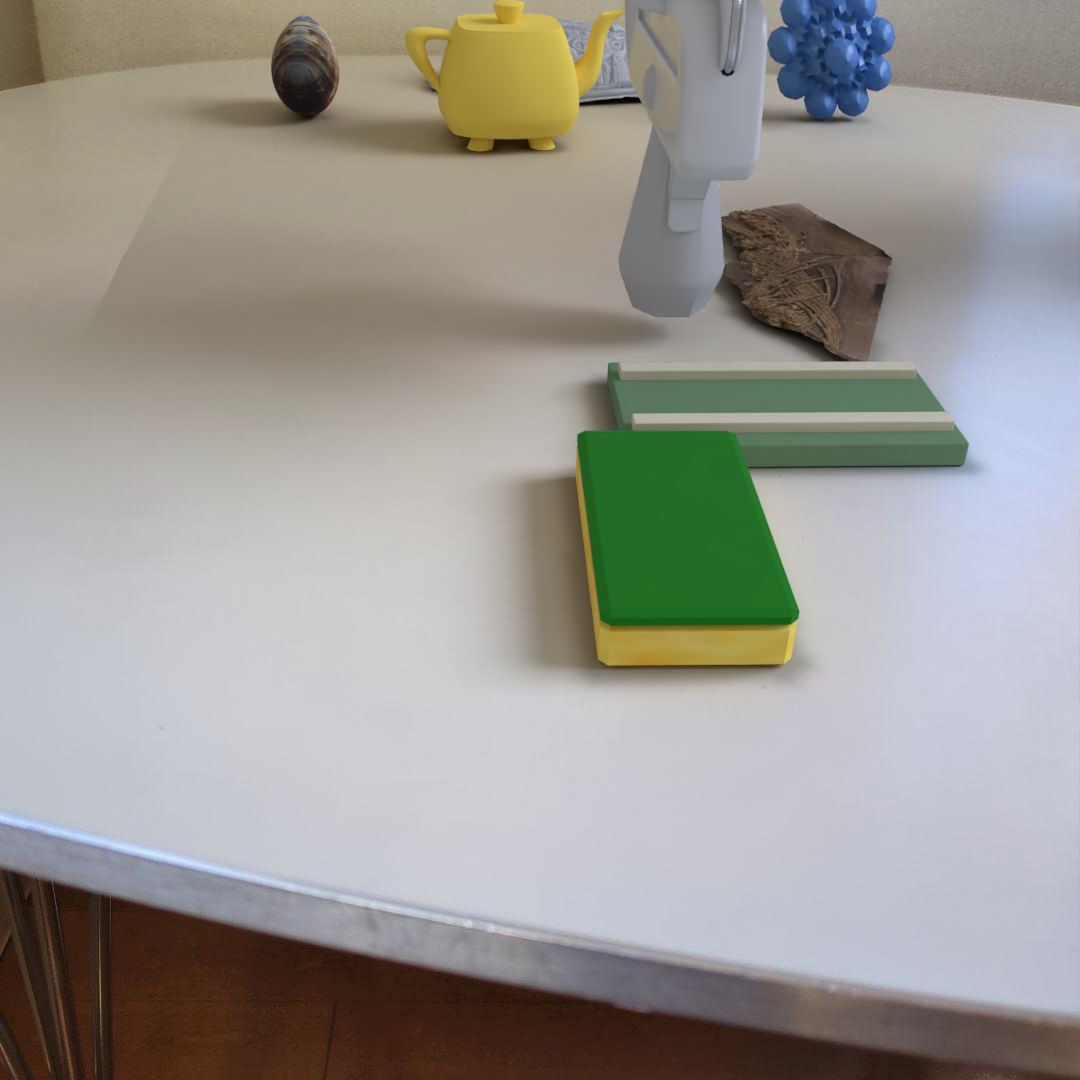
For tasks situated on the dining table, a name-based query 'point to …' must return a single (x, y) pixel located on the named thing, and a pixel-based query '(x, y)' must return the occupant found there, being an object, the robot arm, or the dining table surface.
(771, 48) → the blue knobbly round piece
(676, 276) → the salt shaker
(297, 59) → the seashell
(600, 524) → the dish sponge
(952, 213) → the dining table surface
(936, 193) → the dining table surface
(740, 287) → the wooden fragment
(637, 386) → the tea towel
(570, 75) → the teapot
